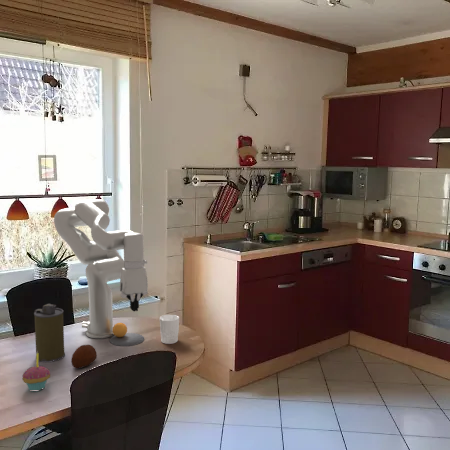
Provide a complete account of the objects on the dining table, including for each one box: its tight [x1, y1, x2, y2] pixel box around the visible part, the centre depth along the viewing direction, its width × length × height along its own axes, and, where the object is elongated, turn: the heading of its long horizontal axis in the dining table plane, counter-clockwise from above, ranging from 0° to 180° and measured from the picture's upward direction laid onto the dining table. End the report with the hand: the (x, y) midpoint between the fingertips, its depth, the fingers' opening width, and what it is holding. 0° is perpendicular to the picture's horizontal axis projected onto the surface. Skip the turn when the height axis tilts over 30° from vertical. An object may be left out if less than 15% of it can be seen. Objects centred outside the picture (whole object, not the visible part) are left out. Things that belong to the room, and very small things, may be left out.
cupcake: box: [22, 351, 51, 391], centre depth 163 cm, size 9×8×12 cm
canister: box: [33, 303, 66, 362], centre depth 188 cm, size 11×10×20 cm
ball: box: [113, 322, 128, 337], centre depth 210 cm, size 6×6×6 cm
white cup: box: [159, 314, 180, 345], centre depth 206 cm, size 8×8×10 cm
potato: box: [71, 344, 98, 369], centre depth 181 cm, size 8×12×8 cm, turn 164°
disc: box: [109, 332, 145, 347], centre depth 207 cm, size 14×14×1 cm
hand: (134, 310), depth 198 cm, fingers closed
